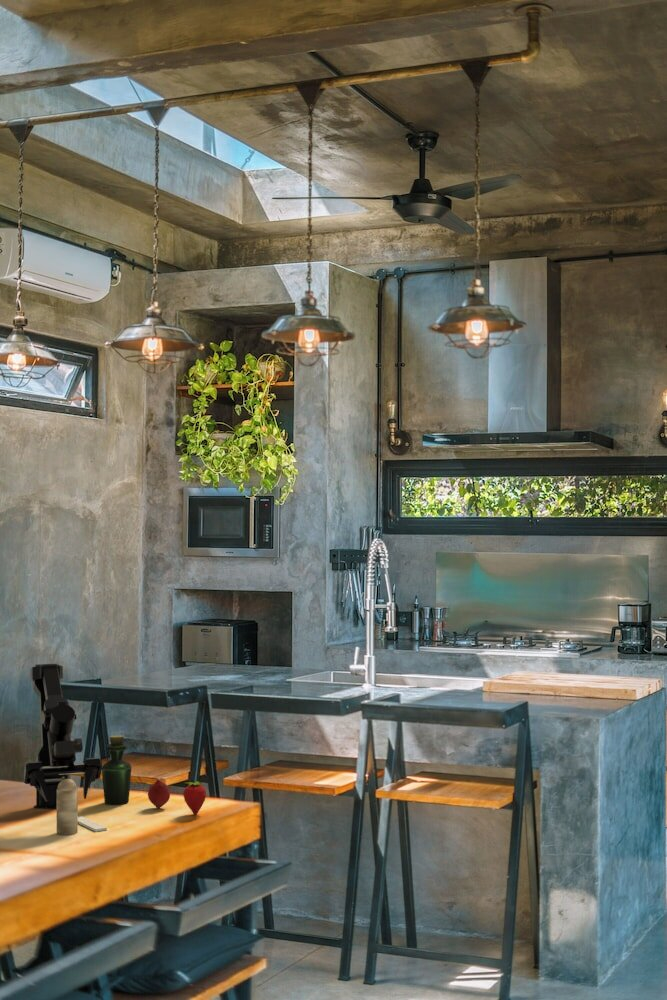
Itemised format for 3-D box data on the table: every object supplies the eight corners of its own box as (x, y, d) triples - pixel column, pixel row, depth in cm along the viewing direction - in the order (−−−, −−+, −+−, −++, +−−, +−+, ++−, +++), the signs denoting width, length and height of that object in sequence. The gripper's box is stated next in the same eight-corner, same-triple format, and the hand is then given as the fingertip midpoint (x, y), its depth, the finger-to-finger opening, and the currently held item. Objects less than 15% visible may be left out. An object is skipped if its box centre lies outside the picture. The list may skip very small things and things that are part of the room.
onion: (172, 806, 326) (172, 776, 327) (167, 810, 321) (167, 780, 321) (151, 805, 327) (151, 775, 327) (145, 810, 321) (145, 779, 322)
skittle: (52, 833, 295) (52, 779, 295) (68, 829, 299) (68, 776, 299) (66, 836, 292) (66, 781, 292) (81, 832, 296) (81, 778, 296)
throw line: (71, 820, 309) (71, 817, 309) (82, 818, 311) (82, 816, 311) (95, 831, 296) (95, 829, 296) (107, 830, 298) (107, 827, 298)
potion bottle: (105, 799, 336) (105, 734, 337) (134, 799, 335) (134, 734, 336) (98, 805, 328) (98, 738, 329) (128, 805, 327) (128, 738, 328)
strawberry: (180, 817, 312) (180, 778, 312) (186, 811, 319) (186, 773, 320) (203, 817, 312) (203, 778, 312) (208, 811, 319) (208, 773, 320)
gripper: (25, 729, 299) (29, 782, 288) (101, 725, 306) (108, 777, 295) (21, 756, 306) (26, 809, 296) (96, 752, 313) (103, 803, 302)
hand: (66, 799), depth 297 cm, fingers open, 9 cm apart
